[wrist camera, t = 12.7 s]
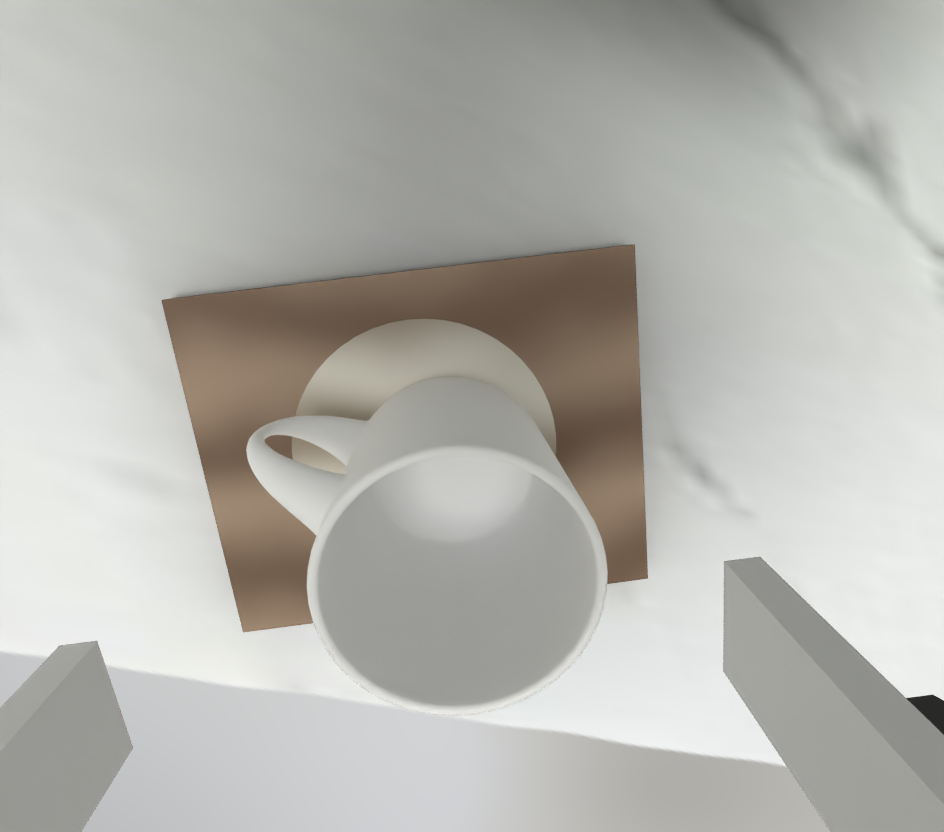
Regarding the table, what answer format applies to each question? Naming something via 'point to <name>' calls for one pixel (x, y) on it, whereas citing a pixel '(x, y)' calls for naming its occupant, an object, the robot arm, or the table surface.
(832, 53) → the table surface
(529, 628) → the mug
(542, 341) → the board
